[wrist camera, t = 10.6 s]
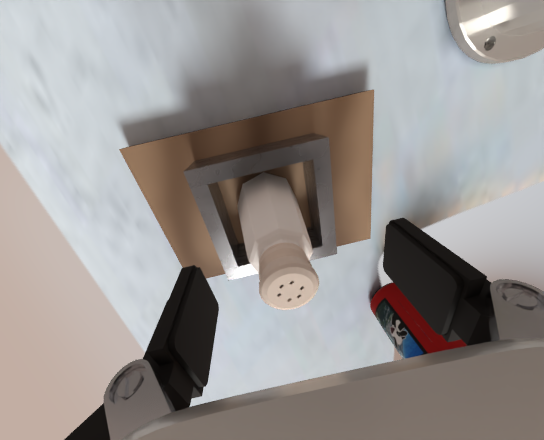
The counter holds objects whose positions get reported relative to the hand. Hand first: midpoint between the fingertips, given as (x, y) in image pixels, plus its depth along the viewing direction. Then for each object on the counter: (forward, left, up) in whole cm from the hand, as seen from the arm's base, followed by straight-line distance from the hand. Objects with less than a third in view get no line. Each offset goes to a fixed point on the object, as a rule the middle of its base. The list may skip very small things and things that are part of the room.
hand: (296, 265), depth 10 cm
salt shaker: (+1, 0, -10) cm, 10 cm away
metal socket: (+1, 0, -10) cm, 10 cm away
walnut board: (+1, 0, -11) cm, 11 cm away
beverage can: (-13, +19, -11) cm, 26 cm away
